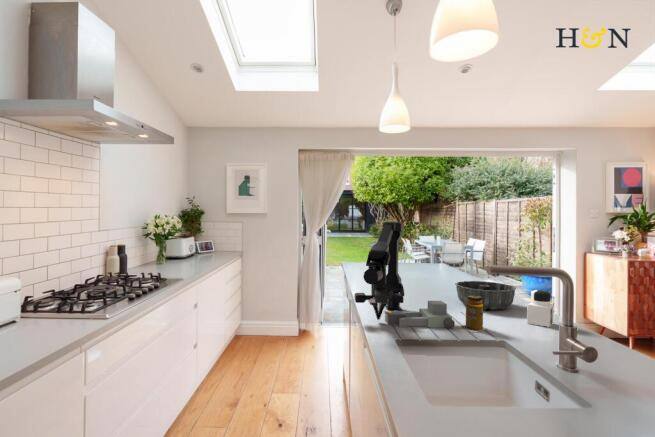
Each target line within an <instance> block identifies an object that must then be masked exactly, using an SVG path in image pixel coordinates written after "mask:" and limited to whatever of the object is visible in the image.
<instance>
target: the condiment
mask: <svg viewBox="0 0 655 437" xmlns="http://www.w3.org/2000/svg"><path fill="white" fill-rule="evenodd" d="M457 328H459V329H462V330H465V331H467V332H471V333H478V332H483V331H485V330H489V329H488V328H487V327H484V309H483V304H482V297H480V296H475V295H470V296H467V303H466V305H465V324H464V325H459V326H458V325H457Z"/></svg>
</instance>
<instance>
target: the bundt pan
mask: <svg viewBox="0 0 655 437" xmlns="http://www.w3.org/2000/svg"><path fill="white" fill-rule="evenodd" d="M454 285H455V287H456V294H457V297H458V300H459V301H460V302H461V303H462V304H464V305H465V306H466V303H467V296H470V295H475V296H480V297H482V304H483V311H484V310H487V309H489V310H491V311H492V310H493V311H494V310H498V311H501V310H503V309H507V308H509V307H510V306H511V305H512V304H513V302H514V299H515V294H516V293H515V292H516V290H517V287H514V285H511V284H506V283H501V282H493V281H481V280H479V281H478V280H463V281H456V283H454Z"/></svg>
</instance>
